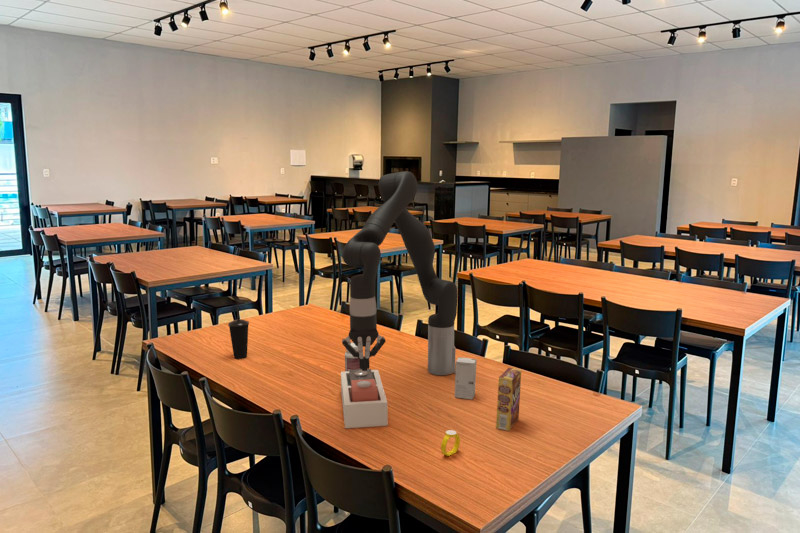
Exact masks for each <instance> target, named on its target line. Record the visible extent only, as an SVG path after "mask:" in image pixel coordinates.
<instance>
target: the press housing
mask: <svg viewBox="0 0 800 533" xmlns="http://www.w3.org/2000/svg"><path fill="white" fill-rule="evenodd" d="M371 371H372V375H373V379H375V383H376V386H377V390H378V401H363V402H351V386H349V371H345V370H344V371H340V390H341V402H342V414H343V421H344V429H357V428H373V427H386V426H389V424H388V420H389V419H388V412H389V411H388V400H387V397H386V392H385V390H384V385H383V383H382V378H381V375H380V372H379V370H378V369H371Z"/></svg>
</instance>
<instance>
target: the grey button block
mask: <svg viewBox="0 0 800 533" xmlns="http://www.w3.org/2000/svg"><path fill="white" fill-rule="evenodd" d="M371 370H372V368H369V369H367V371H362V369H354V370H349V386H351V380H366V379H373V375H372V371H371Z"/></svg>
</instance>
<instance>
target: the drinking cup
mask: <svg viewBox="0 0 800 533" xmlns="http://www.w3.org/2000/svg"><path fill="white" fill-rule="evenodd" d="M236 313H237V314H236V316H237V319H233V320H231V321H229V322H228V324H227V325H228V327H229V334H230V342H231V346H232V347H231V348H232V354H233V359H235V360H242V359H243V360H244V359H246V358H248V341H249V340H248V338H249V324H250V322H249V321H248V320H245V319H241V318H240V306H236Z"/></svg>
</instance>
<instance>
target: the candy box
mask: <svg viewBox="0 0 800 533" xmlns="http://www.w3.org/2000/svg"><path fill="white" fill-rule="evenodd" d="M521 383H522V369H520V368H514V367H507V369H506V370H505V371H504V372H502V373H501V375H500V376H498V386H497V388H498V389H497V401H496V403H497V405H496V421H495V422H496V423H495V424H496V425H495V428H496V429H499V430H503V431H506V432H510V431H511V429H512V428H513V426H515V424H516V423H517V422H518V420H519V419H520V418H519V417H520V403H521V402H520V401H521V400H520V399H521V385H522V384H521Z"/></svg>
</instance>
